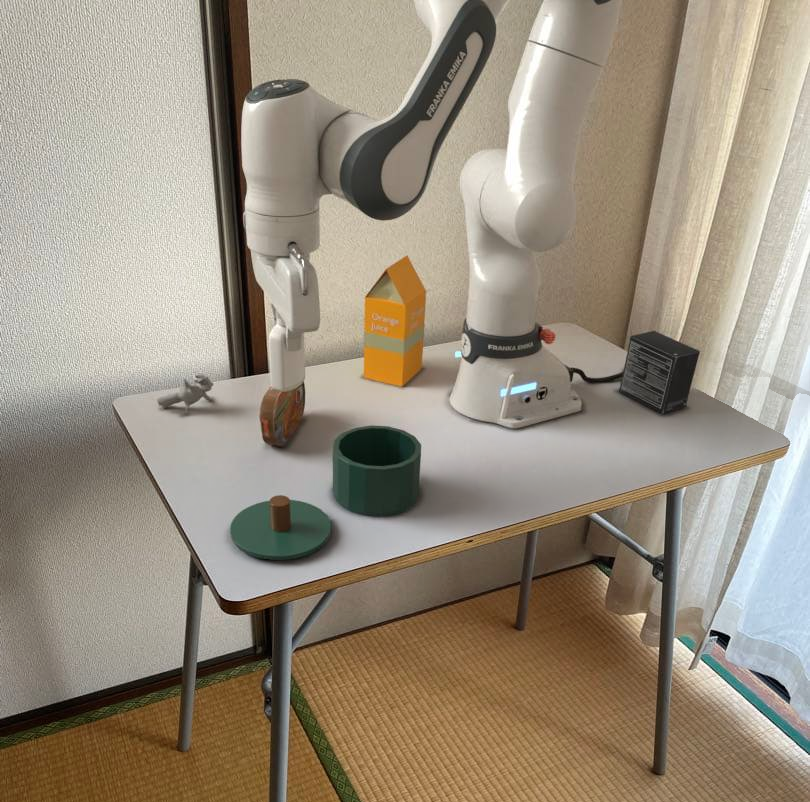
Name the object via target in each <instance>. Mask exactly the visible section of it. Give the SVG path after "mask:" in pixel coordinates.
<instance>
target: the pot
mask: <svg viewBox="0 0 810 802" xmlns="http://www.w3.org/2000/svg"><path fill="white" fill-rule="evenodd" d="M421 458H422V443H421V442H420V441H419V440H418V438H417V437H416V436H415V435H413V434H411V433H409V432H407V431H406V430H404V429H401V428H396V427H393V426H386V425H373V424H372V425H365V426H364V425H363V426H356V427H353V428H350V429H348V430H346V431H342V433H340V434H339V435H337V437H336V438H334V439H333V446H332V493H333V497H334V499H335V501H336V502H337V503H338V504H339V505H340V506H341V507H342V508H343V509H344V510H348V511H349V512H352V513H355V514H358V515H362V516H368V517H387V516H393V515H397V514H401V513H404V512H406V511H407V510H409V509H411V508H412V507H413V506H414V505H415V504H416V503H417V501H418V498H419V494H420V493H419V492H420V491H419V490H420V476H421V475H420V474H421V461H422V459H421Z"/></svg>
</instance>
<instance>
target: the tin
mask: <svg viewBox="0 0 810 802" xmlns="http://www.w3.org/2000/svg"><path fill="white" fill-rule="evenodd" d="M305 406H306V386H305V380H304V381H303V383H302V384H301V385H300V386H298V387H297V388H295V389H293V390H290V391H286V392H282V391H278V390H275V389H272V388H271V386H270V387H269V388H268V389H267V390H266V392H265V394H264V396H263V397H262V399H261V404H260V408H259V422H260V430H261V438H262V441H263V442H264V443H265V444H266V445H271V446H279V447H284V446H286V445H287V443H288V442H289V440H290V439H291V437H292V436H293V434H294V432H296V430H297V428H298V426H299V425H300V423H301V421H302V419H303V416H304V413H305Z"/></svg>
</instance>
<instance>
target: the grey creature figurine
mask: <svg viewBox="0 0 810 802" xmlns="http://www.w3.org/2000/svg"><path fill="white" fill-rule="evenodd" d="M196 373H197V372H196V371H194V373H193V376H192V379H193V381H194V383H196V384H190V383H189V382H188V381H187V379H186V378H184V379H183V384H184V385H183V386H180V388H179V391H178V392H174V393H171V394H170V393H169V394H166V395H163V396H160V397H159V396H156V402H157V404H158V406H159V407H162V409H166V408H168V407H171V406H173V405H175V404H179V403H183V402H184V404H185V411H184V413H183V415H186V413H187V411H188V409H189V407H190V406H192V405H193V404H195V403H198V401H200V400H201V399H203V398H204V399H205V400H206V401H211V397H210V396H209V395H208V394H207V392H210V391H211V390H212V388H213V386H214V382H212V381H211V379H210V378H209V377H208V376H205V375H204V374H201V373H199V374H197V375H196ZM197 384H198V385H197Z"/></svg>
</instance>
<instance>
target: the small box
mask: <svg viewBox="0 0 810 802" xmlns="http://www.w3.org/2000/svg"><path fill="white" fill-rule="evenodd" d="M627 348H628V349H627V353H626V358H625V363H624V367H623V370H624V371H623V370H622V371H623V376H622V377H621V381H620V384H619V390H618V392H619V393H621V394H623V395H624V396H626V397H628V398H630V399H632V400H634V401H636V402H638V403H639V404H641V405H643V406H645V407H646V408H649V409H651V410H653V411H654V412H657V413H659V414H660V415H664V414H668V413H671V412H674V411H677V410H681V409H684V408H686V407H687V402H688V399H689V396H690V395H689V394H690V391H691V389H692V388H691V387H692V385H693V384H692V383H693V380H694V376H695V372H696V368H697V364H698V361H699V356H700V353H701V350H699V349H697V348H694V347H692V346H690V345H688V344H686V343H683V342H680V341H679V340H677V339H674V338H671V337H670V336H667V335H665V334H663V333H661V332H658V331H656V330H651V331H647V332H643V333H637V334H633V335H630V336H629V342H628V347H627Z"/></svg>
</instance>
